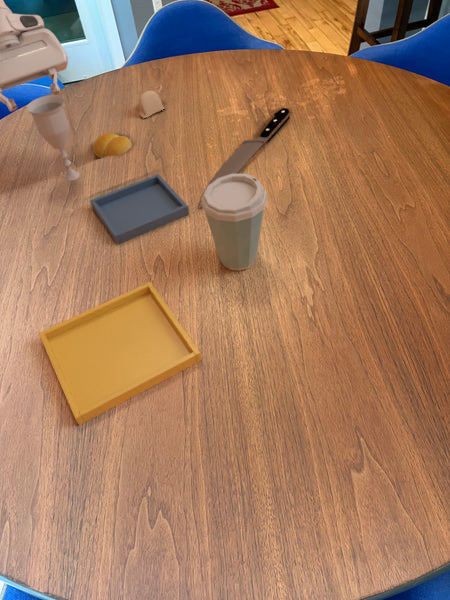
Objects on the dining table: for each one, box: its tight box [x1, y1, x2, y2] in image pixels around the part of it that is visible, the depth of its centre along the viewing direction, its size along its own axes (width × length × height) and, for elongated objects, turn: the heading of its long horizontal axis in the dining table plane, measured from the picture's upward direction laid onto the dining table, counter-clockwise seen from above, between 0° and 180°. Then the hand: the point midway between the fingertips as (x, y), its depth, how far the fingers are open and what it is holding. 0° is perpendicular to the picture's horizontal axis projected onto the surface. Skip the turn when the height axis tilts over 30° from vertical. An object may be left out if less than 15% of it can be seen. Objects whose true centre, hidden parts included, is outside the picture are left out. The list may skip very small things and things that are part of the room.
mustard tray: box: [38, 281, 202, 426], centre depth 74 cm, size 20×18×2 cm
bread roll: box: [92, 132, 133, 159], centre depth 111 cm, size 8×9×4 cm
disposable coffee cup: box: [200, 173, 268, 272], centre depth 81 cm, size 11×11×15 cm
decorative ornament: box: [137, 84, 165, 119], centre depth 123 cm, size 4×8×5 cm, turn 129°
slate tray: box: [89, 173, 190, 245], centre depth 97 cm, size 16×14×2 cm
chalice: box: [26, 94, 81, 182], centre depth 99 cm, size 7×7×18 cm
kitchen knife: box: [198, 107, 291, 210], centre depth 107 cm, size 5×41×2 cm, turn 150°
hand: (36, 101), depth 97 cm, fingers open, 8 cm apart
